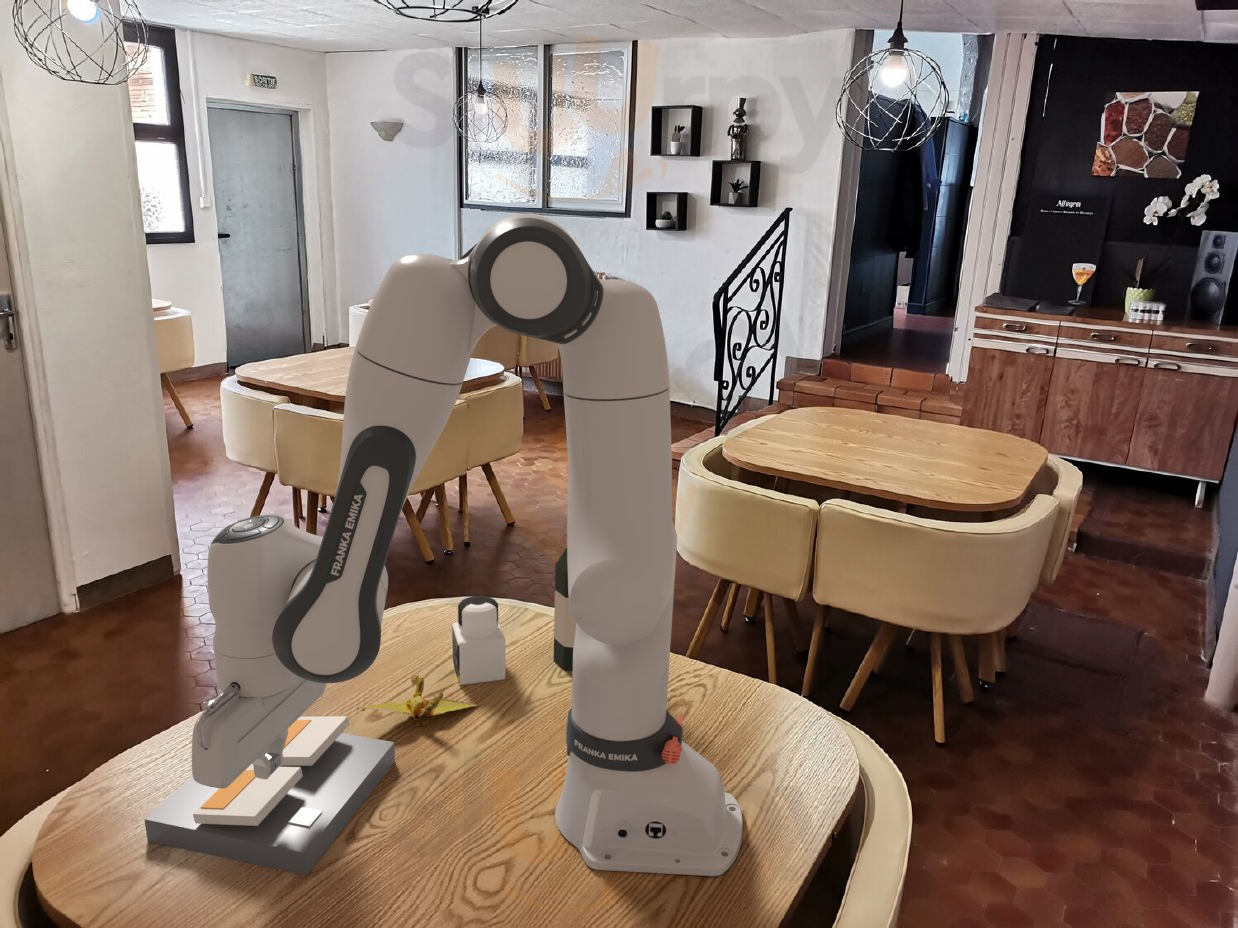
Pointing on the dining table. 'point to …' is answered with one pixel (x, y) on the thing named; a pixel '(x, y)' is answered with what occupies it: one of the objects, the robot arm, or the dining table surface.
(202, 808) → the left rocker
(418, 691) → the origami crane
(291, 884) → the dining table surface
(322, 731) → the right rocker
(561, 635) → the wine bottle
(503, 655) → the medicine bottle
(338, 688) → the dining table surface
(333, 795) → the switch panel
